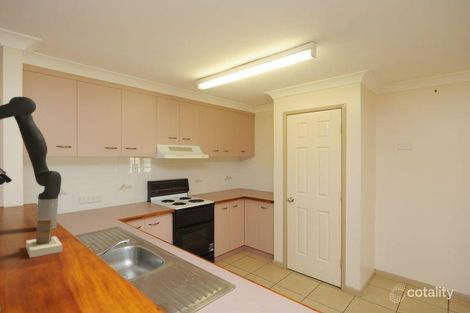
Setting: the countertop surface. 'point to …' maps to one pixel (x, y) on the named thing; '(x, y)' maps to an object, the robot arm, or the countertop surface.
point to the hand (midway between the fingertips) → (6, 182)
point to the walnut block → (44, 231)
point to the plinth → (43, 247)
